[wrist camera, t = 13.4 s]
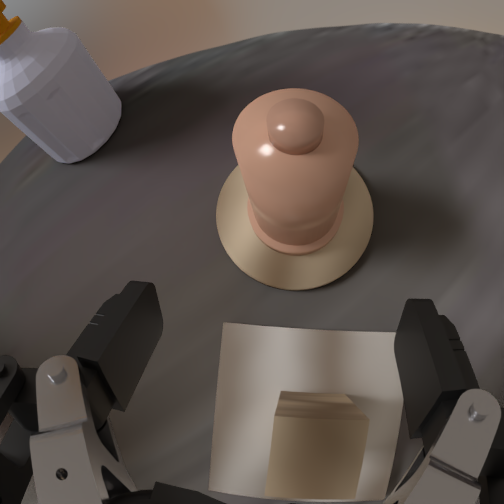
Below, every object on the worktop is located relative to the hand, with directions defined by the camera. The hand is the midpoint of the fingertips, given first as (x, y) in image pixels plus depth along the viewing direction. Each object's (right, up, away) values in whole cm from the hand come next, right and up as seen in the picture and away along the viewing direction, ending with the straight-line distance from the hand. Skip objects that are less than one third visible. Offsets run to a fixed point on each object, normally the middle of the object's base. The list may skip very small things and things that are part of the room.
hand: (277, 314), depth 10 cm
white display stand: (+3, -9, +9) cm, 13 cm away
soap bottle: (-18, +15, +18) cm, 29 cm away
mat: (+2, +5, +13) cm, 14 cm away
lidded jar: (+2, +5, +12) cm, 13 cm away
